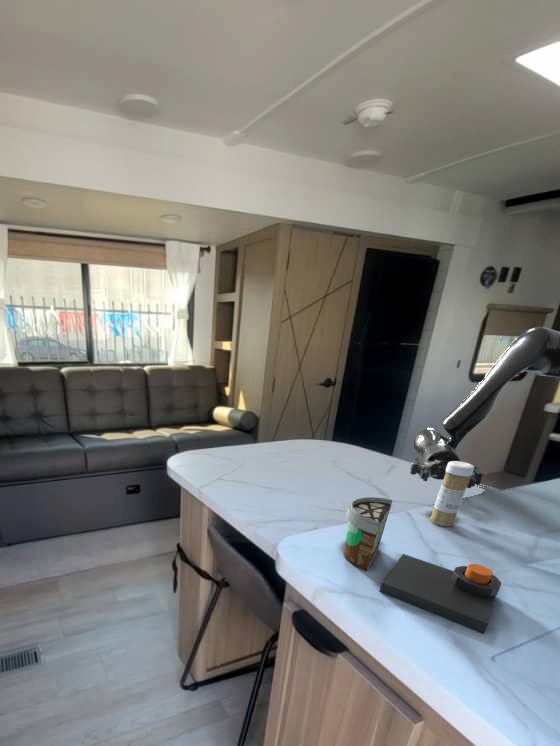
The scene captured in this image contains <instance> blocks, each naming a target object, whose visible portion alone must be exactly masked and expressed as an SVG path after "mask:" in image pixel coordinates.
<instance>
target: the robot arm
mask: <svg viewBox="0 0 560 746" xmlns="http://www.w3.org/2000/svg"><path fill="white" fill-rule="evenodd" d="M522 372H526V373H530V374H533V375H536V376H542V377H549V378H550V377H551V378H560V331H559V330H555V329H552V328H549V327H545V326H536V327H535V326H534V327H531V328H529V329H527V330H525V331H524V332H523V333H521V334H520V335H519V336H518V337H516V338H515V340H514V341H513V342H512V343H511V344H510V345H509V346H508V348H506V350H505V351H504V353H503V354H502V355H500V357H499V359H497V361H496V362H495V364H494V365H492V367H491V368H490V370H489V371H488V372H487V373H486V374H485V376H484V377H483V379H481V381H480V382H479V383H478V385H477V386H476V387H475V388H474V389H473V391H471V392H470V394H469V395H468V396H467V397H466V398H465V399H464V400H463V401H461V403H460V404H458V405H457V407H455V408H454V409H453V410H452V411H450V413H449V414H448V415H446V417H445V418H444V419H443V420H442V427H443V429H444V430H445V431H446V433H447V434H448V435H449V436H450V437H448V436H446V435H445V434H443V433H441V432H440V431H439V430H437V429H434V428H425V429H423V430H421V431H420V432H419V433H418V434H417V435H416V436H415V438H414V440H413V448H414V450H415V452H417V453H418V454H419V455H420V456H421V457H422V461H421V460H419V458H417V457H415V458H413V459H412V460H411V461H412V462H411V465H410V471H409V474H410V475H413V476H414V475H418V476H419V478H420V479H422V480H423V482H428V480H429V478H432V479H435V480H439V481H440V480H441V481H443V480H444V477H445V474H446V468H447V465H448V463H449V462H451V461H459V462H461V459H460V457H459V455H458V453H457V451H456V450H457V448H458V447H459V445H460V444H461V442H462V441H463V440H464V439H465V437H467V436H468V434H469V433H471V432H472V431H473V430H474V429H475V428H476V427H477V426H479V425H480V424H481V423H482V422H484V421H485V419H486V418H488V417H489V415H490V414H491V413H492V411H493V409H494V408H495V405H496V403H497V400H498V398H499V396H500V394H501V392H502V391H503V389H504V387H505V386H506V385H507V384H508V383H510V381H511V380H513V379H514V378H515V377H516V376H518V375H519V374H520V373H522ZM483 477H484V473H483V471H482V470H481V469H480V468H479V467H478V466H474V470H473V473H472V475H471V477H470V478H469V481H468V484H467V487H466V489H472V488H473V487H475V486H477V485H481V481H482V479H483Z"/></svg>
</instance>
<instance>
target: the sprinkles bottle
mask: <svg viewBox="0 0 560 746" xmlns="http://www.w3.org/2000/svg"><path fill="white" fill-rule="evenodd" d="M474 467H475V466H474V465H473V464H471V463H468V462H465V461H460V462H459V461H451V462H449V463H448V465H447V468H446V474H445V477H444V480H442V483H441V485H440V488H439V491H438V493H437V497H436V500H435V503H434V507H433V510H432V513H431V516H430V517H429V520H430V522H431V523H433V524H435V525H437V526H441V527H453V526H454V525H455V520H456V517H457V514H458V511H459V509H460V507H461V504H462V501H463V498H464V495H465V493H466V490H467V484H468V481H469V478H470V477H471V475H472V473H473V470H474Z"/></svg>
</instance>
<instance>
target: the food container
mask: <svg viewBox="0 0 560 746" xmlns="http://www.w3.org/2000/svg"><path fill="white" fill-rule="evenodd" d="M392 503H393V499H390V498H385V497H384V498H383V497H374V496H373V497H371V496H370V497H369V496H368V497H360V498H357V499H355V500H353V501H352V503H351V504H349V506H348V509H347V510H346V512H345V517H346V519H347V521H348V522H347V528H346V529H347V530H346V535H345V543H344V550H343V557H344V559H345V560H346V561H347V562H348V563H349V564H350V565H352V566H354V567H355V568H357V569H360V570H361V571H364V572H368V570H369V568H370V566H371V564H372V562H373V560H374V558H375V556H376V555H377V552H378V551H379V547H380V544H381V540H382V537H383V534H384V532H385V531H384V530H385V527H386V524H387V520H388V517H389V514H390V510H391V508H392V505H393V504H392Z"/></svg>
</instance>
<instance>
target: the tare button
mask: <svg viewBox="0 0 560 746" xmlns="http://www.w3.org/2000/svg"><path fill="white" fill-rule="evenodd" d="M467 566H468V567H467V570H466V572H465V577H466V578H468V579H470V580H471V581H474V582H477V583H480V584H488V583H489V581H490V579H491V576H492V575H494V573H493V570H492V569H490V568H489V567H487V566H484V565H483V564H478V563H470V564H468V565H467Z"/></svg>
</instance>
